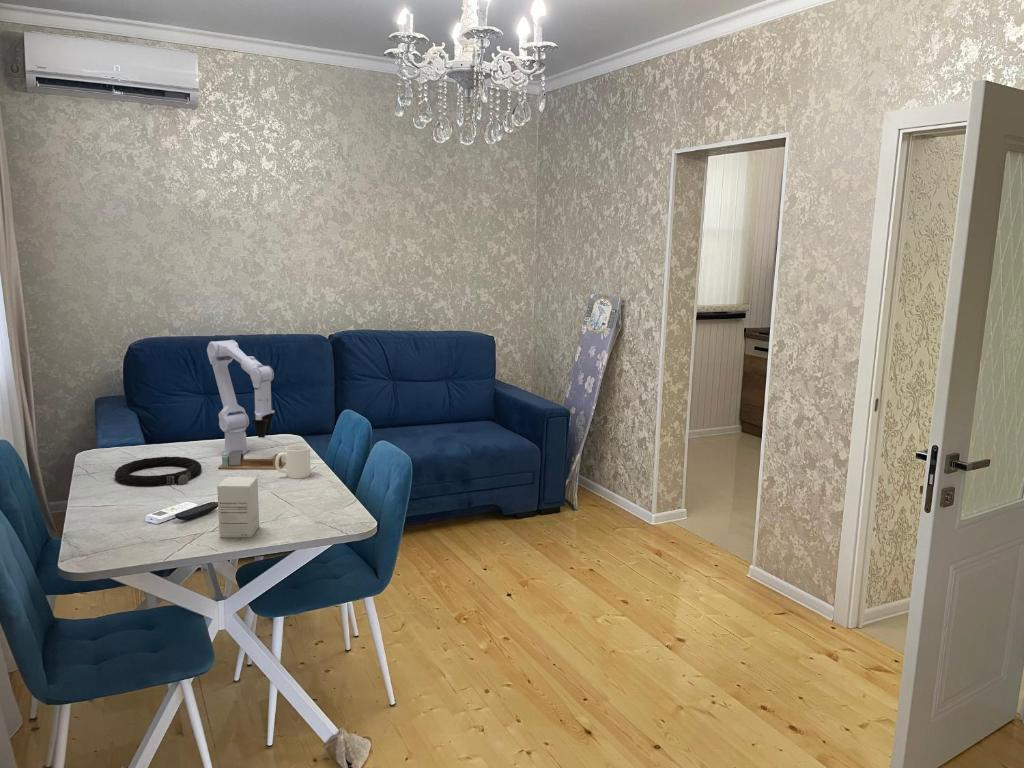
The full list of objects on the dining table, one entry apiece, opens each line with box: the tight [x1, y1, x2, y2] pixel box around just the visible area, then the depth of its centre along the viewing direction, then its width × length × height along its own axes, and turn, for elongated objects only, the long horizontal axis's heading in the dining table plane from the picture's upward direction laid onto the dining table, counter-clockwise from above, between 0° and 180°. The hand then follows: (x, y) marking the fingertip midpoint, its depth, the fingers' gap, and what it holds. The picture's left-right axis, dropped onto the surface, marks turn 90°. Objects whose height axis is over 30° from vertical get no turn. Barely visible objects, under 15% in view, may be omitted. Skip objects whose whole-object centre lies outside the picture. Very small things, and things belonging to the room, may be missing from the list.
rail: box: [217, 453, 286, 471], centre depth 275 cm, size 8×22×4 cm, turn 95°
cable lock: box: [114, 456, 203, 487], centre depth 261 cm, size 28×4×30 cm
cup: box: [275, 444, 311, 480], centre depth 264 cm, size 8×12×10 cm
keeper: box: [229, 450, 245, 466], centre depth 274 cm, size 4×4×5 cm
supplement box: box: [216, 476, 260, 538], centre depth 210 cm, size 9×9×15 cm
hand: (263, 434), depth 280 cm, fingers open, 7 cm apart
